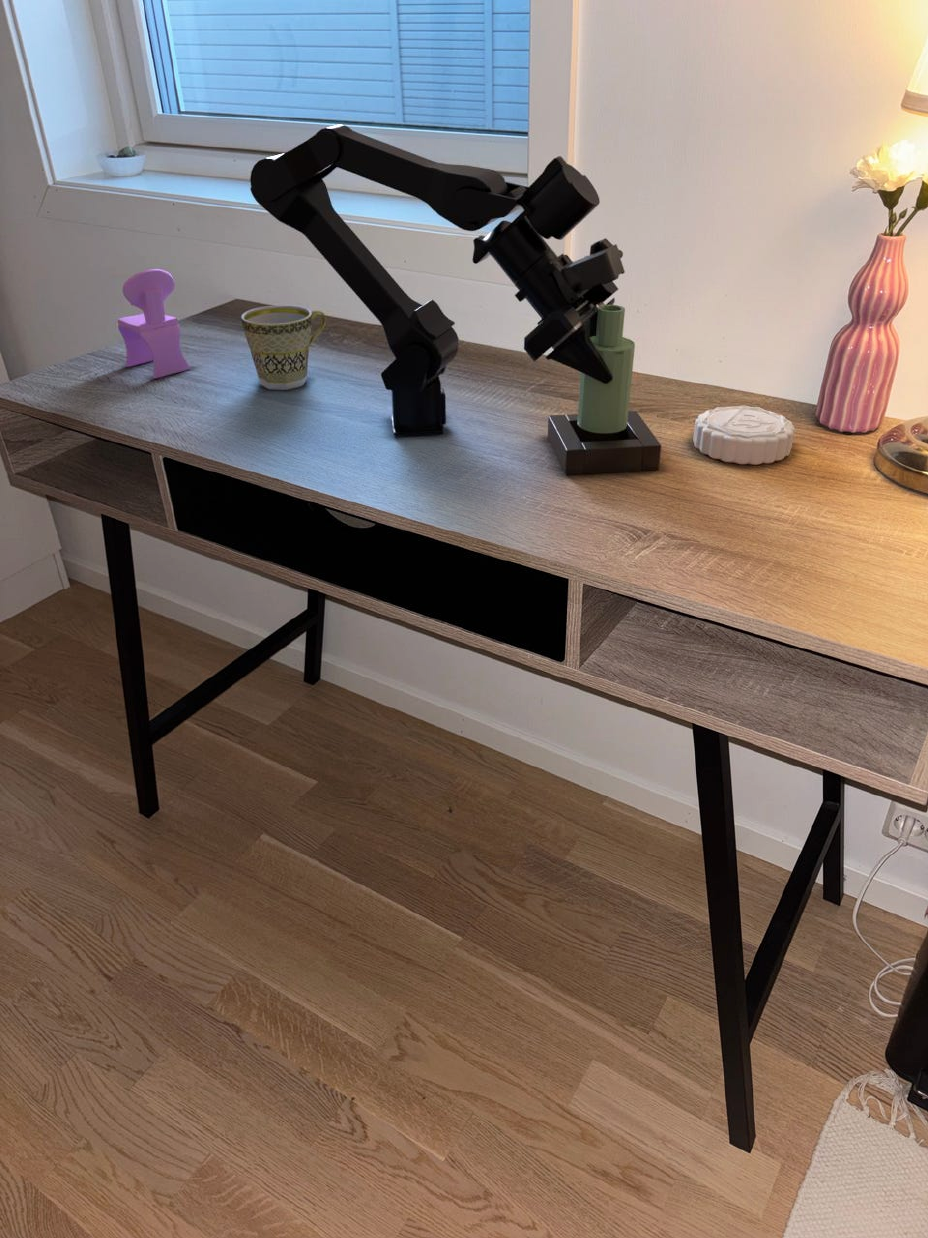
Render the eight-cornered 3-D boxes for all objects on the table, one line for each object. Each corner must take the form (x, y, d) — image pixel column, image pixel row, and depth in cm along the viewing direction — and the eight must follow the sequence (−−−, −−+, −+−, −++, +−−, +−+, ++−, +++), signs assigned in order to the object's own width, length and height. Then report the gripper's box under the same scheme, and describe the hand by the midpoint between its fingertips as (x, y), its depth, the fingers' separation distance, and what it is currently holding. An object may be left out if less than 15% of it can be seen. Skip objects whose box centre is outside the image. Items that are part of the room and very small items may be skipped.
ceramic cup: (270, 399, 138) (262, 328, 133) (237, 381, 145) (228, 313, 140) (347, 379, 145) (342, 311, 140) (312, 363, 152) (306, 297, 146)
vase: (588, 435, 116) (597, 317, 108) (569, 418, 121) (577, 303, 113) (635, 430, 117) (647, 312, 110) (614, 413, 122) (624, 299, 115)
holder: (565, 475, 116) (566, 450, 114) (547, 438, 125) (548, 415, 123) (658, 470, 117) (661, 445, 115) (634, 434, 126) (636, 410, 125)
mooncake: (774, 473, 116) (779, 444, 114) (678, 452, 121) (681, 425, 119) (802, 440, 124) (807, 413, 122) (712, 422, 130) (715, 396, 128)
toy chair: (166, 355, 156) (148, 257, 148) (196, 367, 150) (180, 266, 142) (118, 367, 151) (98, 266, 143) (148, 380, 146) (129, 276, 137)
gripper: (556, 234, 100) (650, 354, 103) (607, 204, 115) (689, 309, 117) (484, 304, 107) (574, 414, 110) (541, 267, 122) (619, 365, 124)
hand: (617, 373), depth 115 cm, fingers closed on vase, 6 cm apart
